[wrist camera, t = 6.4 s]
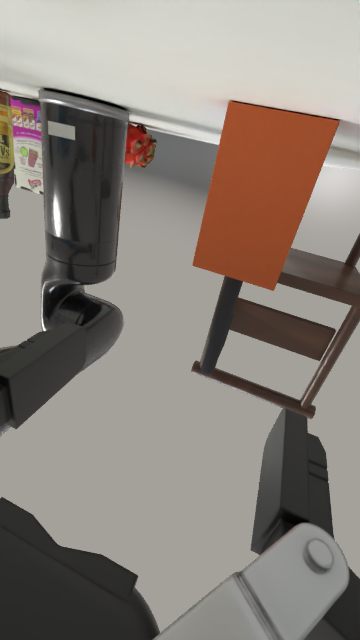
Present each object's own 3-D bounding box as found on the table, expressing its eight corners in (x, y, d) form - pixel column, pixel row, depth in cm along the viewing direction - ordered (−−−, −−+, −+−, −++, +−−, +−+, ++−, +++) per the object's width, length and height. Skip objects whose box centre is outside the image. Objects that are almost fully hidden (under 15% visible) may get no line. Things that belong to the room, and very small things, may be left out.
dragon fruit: (164, 119, 55) (117, 100, 59) (134, 144, 52) (88, 122, 56) (168, 161, 63) (127, 141, 66) (143, 184, 60) (101, 163, 64)
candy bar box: (26, 99, 59) (31, 186, 68) (5, 93, 55) (13, 187, 63) (72, 109, 57) (71, 198, 65) (53, 103, 53) (55, 199, 61)
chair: (409, 171, 31) (307, 365, 44) (269, 142, 34) (213, 331, 48) (464, 169, 21) (310, 421, 34) (257, 129, 24) (190, 374, 37)
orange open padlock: (326, 138, 20) (244, 354, 30) (249, 123, 22) (194, 335, 31) (340, 120, 14) (229, 404, 23) (228, 100, 15) (166, 378, 24)
